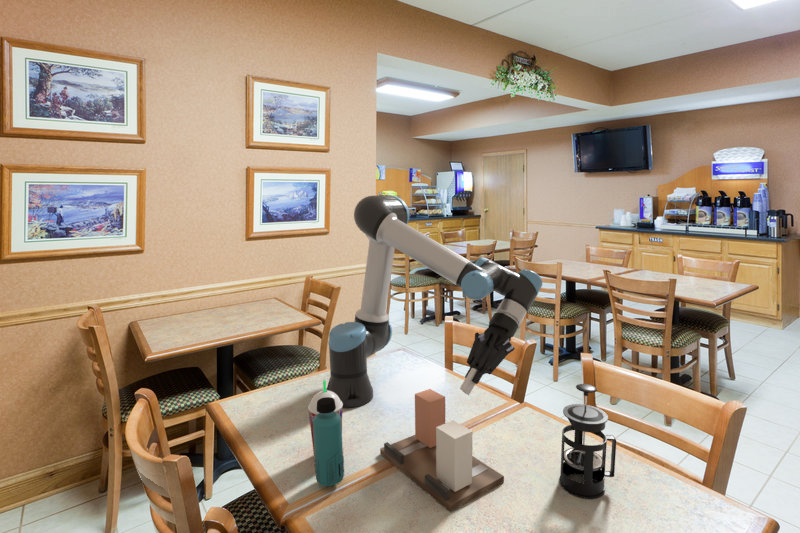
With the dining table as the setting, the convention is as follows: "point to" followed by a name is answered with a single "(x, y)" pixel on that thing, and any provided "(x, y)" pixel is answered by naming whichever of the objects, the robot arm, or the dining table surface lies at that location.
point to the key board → (422, 470)
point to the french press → (585, 449)
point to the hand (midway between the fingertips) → (464, 391)
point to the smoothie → (313, 406)
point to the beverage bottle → (328, 443)
